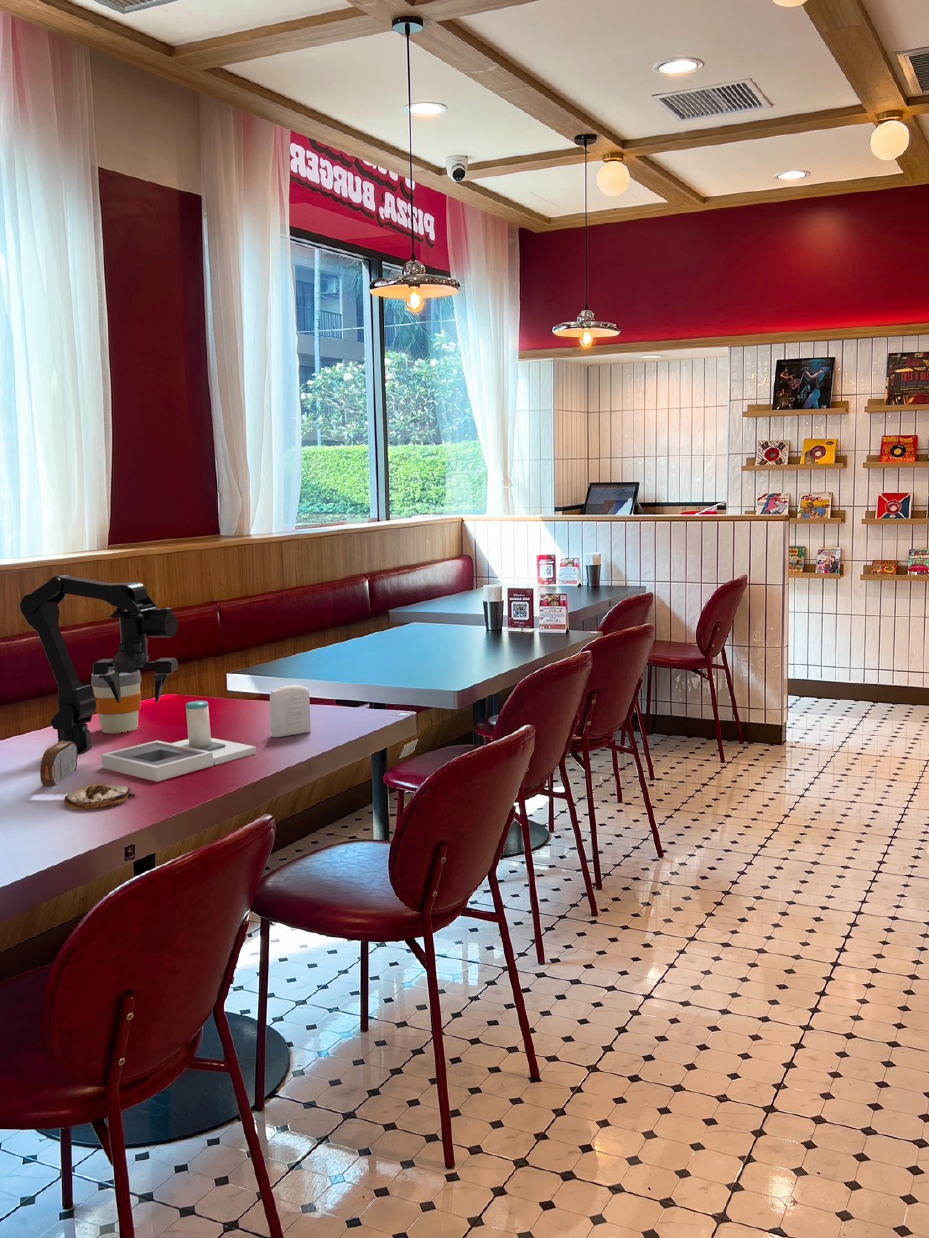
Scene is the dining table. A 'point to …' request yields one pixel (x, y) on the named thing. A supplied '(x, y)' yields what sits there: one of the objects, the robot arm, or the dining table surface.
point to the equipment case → (172, 758)
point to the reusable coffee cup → (114, 713)
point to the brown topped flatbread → (97, 797)
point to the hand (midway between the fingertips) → (138, 702)
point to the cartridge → (198, 724)
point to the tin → (58, 762)
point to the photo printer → (290, 710)
